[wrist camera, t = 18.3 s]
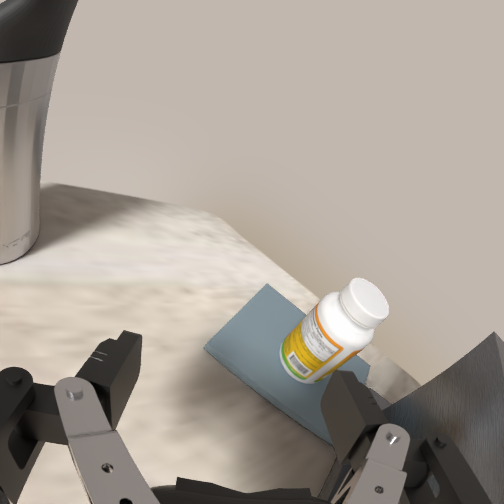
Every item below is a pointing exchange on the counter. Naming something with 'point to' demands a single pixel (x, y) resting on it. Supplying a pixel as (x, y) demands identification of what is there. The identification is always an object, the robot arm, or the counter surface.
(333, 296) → the supplement bottle
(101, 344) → the robot arm
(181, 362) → the counter surface
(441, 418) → the mounted unit
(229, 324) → the mat
